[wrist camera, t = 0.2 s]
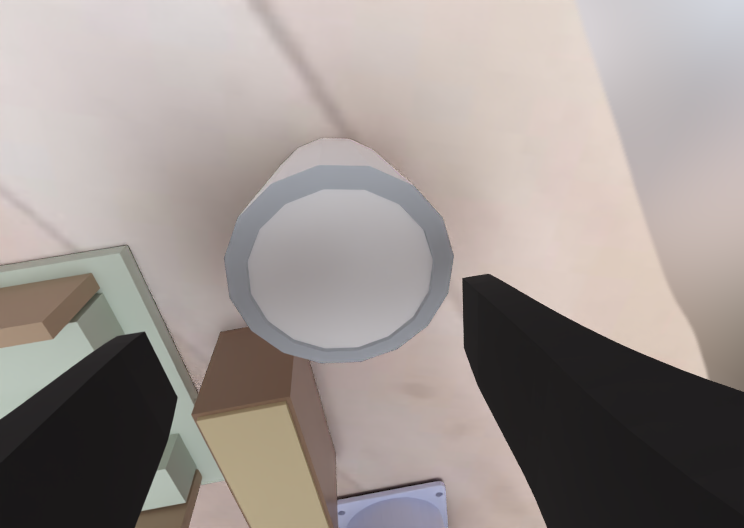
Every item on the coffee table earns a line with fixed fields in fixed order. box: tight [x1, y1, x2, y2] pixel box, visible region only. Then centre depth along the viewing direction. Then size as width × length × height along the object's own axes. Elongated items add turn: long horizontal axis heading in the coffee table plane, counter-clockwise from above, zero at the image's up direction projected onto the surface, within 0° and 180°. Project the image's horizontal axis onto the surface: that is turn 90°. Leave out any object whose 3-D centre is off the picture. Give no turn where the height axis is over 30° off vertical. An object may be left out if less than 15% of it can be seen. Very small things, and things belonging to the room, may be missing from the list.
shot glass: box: [224, 138, 454, 363], centre depth 15 cm, size 7×7×7 cm
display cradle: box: [0, 245, 225, 528], centre depth 20 cm, size 16×11×4 cm
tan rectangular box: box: [191, 327, 338, 528], centre depth 21 cm, size 11×4×6 cm, turn 8°
